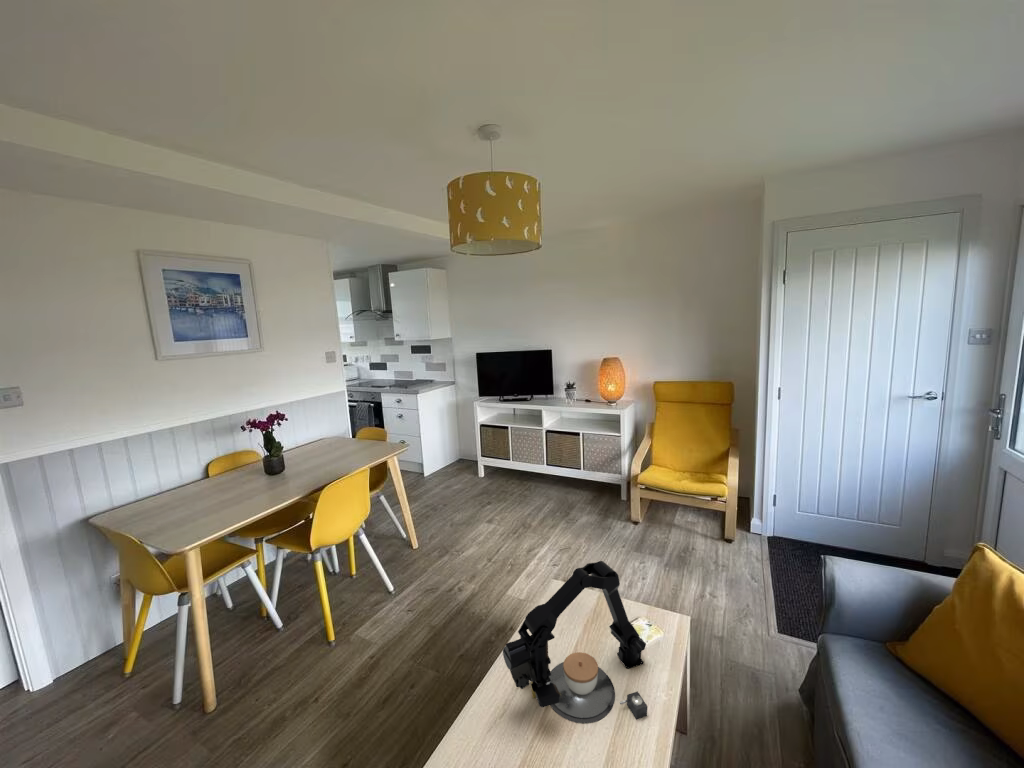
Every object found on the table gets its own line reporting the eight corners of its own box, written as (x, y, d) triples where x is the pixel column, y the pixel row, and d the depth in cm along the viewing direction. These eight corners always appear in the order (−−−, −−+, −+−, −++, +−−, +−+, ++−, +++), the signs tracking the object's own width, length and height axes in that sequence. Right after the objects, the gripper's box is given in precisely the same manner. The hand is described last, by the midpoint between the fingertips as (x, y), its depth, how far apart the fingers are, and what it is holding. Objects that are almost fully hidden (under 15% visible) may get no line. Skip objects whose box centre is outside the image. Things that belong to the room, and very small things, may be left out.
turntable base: (594, 653, 146) (594, 653, 146) (628, 710, 126) (628, 709, 126) (535, 671, 140) (535, 670, 140) (561, 733, 120) (561, 732, 120)
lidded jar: (586, 709, 126) (585, 681, 125) (557, 689, 133) (555, 662, 132) (605, 685, 134) (604, 658, 132) (576, 667, 141) (575, 642, 140)
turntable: (600, 658, 144) (600, 649, 143) (622, 713, 124) (622, 704, 124) (527, 667, 141) (526, 658, 141) (537, 726, 122) (537, 716, 121)
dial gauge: (637, 701, 129) (637, 690, 128) (647, 716, 124) (647, 705, 123) (618, 707, 127) (618, 696, 126) (627, 722, 122) (627, 712, 122)
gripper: (503, 637, 133) (506, 680, 135) (521, 687, 115) (523, 736, 118) (537, 629, 136) (539, 671, 138) (560, 676, 118) (561, 724, 121)
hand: (540, 698), depth 129 cm, fingers closed
